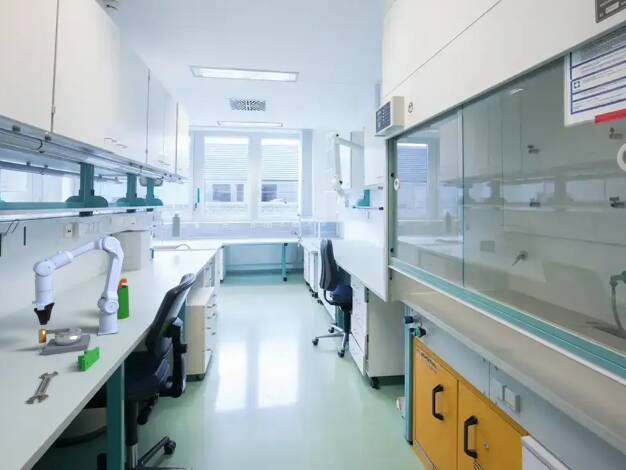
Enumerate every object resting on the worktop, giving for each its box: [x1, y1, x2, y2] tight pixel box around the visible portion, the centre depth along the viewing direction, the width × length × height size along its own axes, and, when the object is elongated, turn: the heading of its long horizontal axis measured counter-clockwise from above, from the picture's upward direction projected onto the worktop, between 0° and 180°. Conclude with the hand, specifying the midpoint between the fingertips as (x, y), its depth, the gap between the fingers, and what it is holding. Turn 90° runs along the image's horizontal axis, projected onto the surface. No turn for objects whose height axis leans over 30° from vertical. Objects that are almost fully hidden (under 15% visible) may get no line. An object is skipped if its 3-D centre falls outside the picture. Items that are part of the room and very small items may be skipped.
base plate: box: [43, 333, 91, 357], centre depth 144 cm, size 13×14×2 cm
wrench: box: [28, 370, 59, 405], centre depth 112 cm, size 5×20×1 cm, turn 27°
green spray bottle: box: [117, 277, 130, 320], centre depth 184 cm, size 10×9×20 cm
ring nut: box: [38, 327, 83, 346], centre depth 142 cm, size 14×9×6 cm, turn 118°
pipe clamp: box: [77, 346, 100, 372], centre depth 128 cm, size 11×4×5 cm, turn 9°
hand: (45, 322), depth 144 cm, fingers open, 4 cm apart
